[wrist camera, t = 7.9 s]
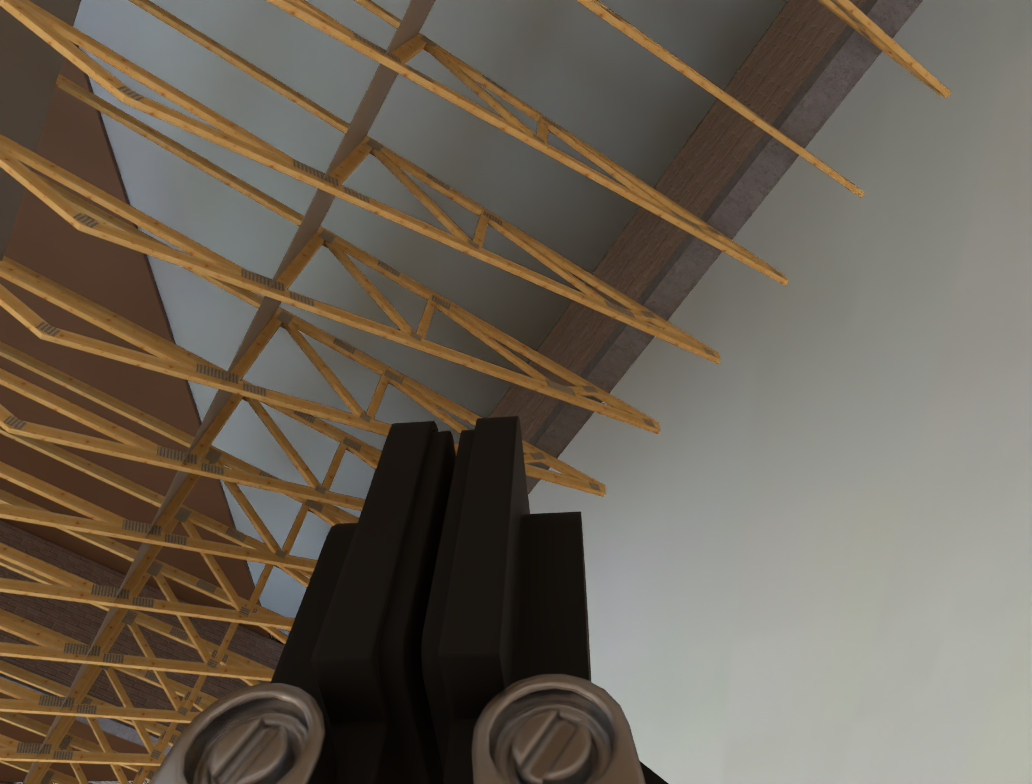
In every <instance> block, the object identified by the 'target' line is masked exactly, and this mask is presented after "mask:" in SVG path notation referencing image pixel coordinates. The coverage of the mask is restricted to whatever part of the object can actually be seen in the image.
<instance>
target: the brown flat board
mask: <svg viewBox="0 0 1032 784" xmlns="http://www.w3.org/2000/svg"><path fill="white" fill-rule="evenodd" d="M69 41H70V40H69ZM70 42H71V41H70ZM71 43H73V42H71ZM73 44H74V45H75V46H76V47H78V45H76V44H75V43H73ZM78 48H79V47H78ZM59 74H60V75H61V76H63V77H65V78H67V79H68V80H70V81H72V82H73V83H75V84H77V85H79V86H80V87H82V88H84V89H86V90H87V91H89V92H91V93H92V94H94V93H93V90H92V87H91V84H90V81H89V77H88V75H87V74H86V73H85V72H83V71H82V70H81V69H80V68H78V67H77V66H76V65H75V64H73V63H72V62H71V61H70V60H68V59H67V58H66V57H64V58H63V61H62V65H61V68H60V71H59ZM35 153H36V154H38V155H39V156H41V157H43V158H45V159H47V160H48V161H50V162H52V163H54V164H56V165H57V166H59V167H61V168H63V169H65V170H67V171H68V172H70V173H72V174H74V175H76V176H77V177H79V178H81V179H83V180H85V181H86V182H88V183H90V184H92V185H94V186H95V187H97V188H99V189H101V190H103V191H104V192H106V193H108V194H110V195H112V196H113V197H115V198H117V199H119V200H121V201H123V202H124V203H126V204H128V205H130V203H129V200H128V197H127V194H126V191H125V188H124V185H123V182H122V179H121V175H120V172H119V169H118V166H117V163H116V160H115V157H114V154H113V151H112V148H111V145H110V142H109V139H108V136H107V133H106V130H105V126H104V123H103V120H102V117H101V114H100V111H99V110H97V109H95V108H94V107H92V106H90V105H88V104H87V103H85V102H83V101H81V100H80V99H78V98H76V97H74V96H73V95H71V94H69V93H68V92H66V91H64V90H62V89H61V88H59V87H57V86H55V88H54V91H53V95H52V98H51V101H50V105H49V108H48V111H47V115H46V118H45V121H44V125H43V128H42V131H41V134H40V138H39V141H38V144H37V148H36V151H35ZM30 170H31V171H32V172H34V173H36V174H38V175H40V176H41V177H43V178H45V179H47V180H49V181H51V182H52V183H54V184H56V185H58V186H60V187H61V188H63V189H65V190H67V191H69V192H71V193H72V194H74V195H76V196H78V197H80V198H82V199H83V200H85V201H87V202H89V203H91V204H93V205H94V206H96V207H98V208H100V209H102V210H103V211H105V212H107V213H109V214H111V215H113V216H114V217H116V218H118V219H120V220H122V221H124V222H125V223H127V224H129V225H131V226H133V227H135V228H136V229H138V228H137V225H136V224H134V223H133V222H131V221H129V220H127V219H125V218H123V217H122V216H120V215H118V214H116V213H114V212H113V211H111V210H109V209H107V208H105V207H103V206H102V205H100V204H98V203H96V202H94V201H92V200H91V199H89V198H87V197H85V196H83V195H82V194H80V193H78V192H76V191H74V190H72V189H71V188H69V187H67V186H65V185H63V184H62V183H60V182H58V181H56V180H54V179H52V178H51V177H49V176H47V175H45V174H43V173H41V172H40V171H38V170H36V169H34V168H32V167H31V168H30ZM83 214H84V213H83ZM85 215H86V214H85ZM86 216H87V217H89V218H91V217H90V216H88V215H86ZM91 219H92V220H95V219H93V218H91ZM95 221H97V220H95ZM98 222H99V221H98ZM100 223H101V222H100ZM4 256H6V257H8V258H10V259H12V260H14V261H16V262H17V263H19V264H21V265H23V266H25V267H27V268H29V269H31V270H33V271H35V272H37V273H39V274H41V275H43V276H44V277H46V278H48V279H50V280H52V281H54V282H56V283H58V284H60V285H62V286H64V287H66V288H68V289H70V290H71V291H73V292H75V293H77V294H79V295H81V296H83V297H85V298H87V299H89V300H91V301H93V302H95V303H97V304H98V305H100V306H102V307H104V308H106V309H108V310H110V311H112V312H114V313H116V314H118V315H120V316H122V317H124V318H125V319H127V320H129V321H131V322H133V323H135V324H137V325H139V326H141V327H143V328H145V329H147V330H149V331H151V332H152V333H154V334H156V335H158V336H160V337H162V338H164V339H166V340H168V341H170V342H172V343H174V344H175V341H174V338H173V335H172V332H171V329H170V325H169V322H168V319H167V316H166V313H165V310H164V307H163V304H162V301H161V298H160V295H159V292H158V289H157V286H156V283H155V280H154V277H153V273H152V270H151V267H150V264H149V261H148V258H147V255H146V254H145V253H142V252H139V251H136V250H133V249H130V248H128V247H125V246H122V245H119V244H116V243H113V242H111V241H108V240H105V239H102V238H99V237H96V236H93V235H91V234H88V233H85V232H82V231H79V230H77V229H76V228H75V227H74V226H73V225H71V224H70V223H69V222H68V221H66V220H65V219H64V218H63V217H62V216H60V215H59V214H58V213H57V212H55V211H54V210H53V209H52V208H50V207H49V206H48V205H47V204H46V203H44V202H43V201H42V200H41V199H39V198H38V197H37V196H36V195H35V194H33V193H32V192H31V191H30V190H28V189H27V188H26V187H25V188H24V191H23V194H22V198H21V201H20V204H19V208H18V211H17V214H16V217H15V221H14V224H13V227H12V231H11V234H10V237H9V241H8V244H7V247H6V251H5V254H4ZM0 284H1V285H2V286H4V287H5V288H6V289H7V290H8V291H10V292H11V293H12V294H13V295H14V296H16V297H17V298H18V299H19V300H20V301H22V302H23V303H24V304H25V305H26V306H28V307H29V308H30V309H31V310H32V311H34V312H35V313H36V314H37V315H38V316H40V317H41V318H42V319H43V320H45V321H46V322H47V323H48V324H49V325H51V326H53V327H55V328H58V329H62V330H65V331H69V332H72V333H76V334H79V335H83V336H86V337H89V338H93V339H96V340H100V341H103V342H107V343H110V344H114V345H117V346H120V347H124V348H127V349H131V350H134V351H138V352H141V353H145V354H148V355H152V356H155V355H153V354H151V353H149V352H147V351H145V350H143V349H141V348H139V347H137V346H135V345H133V344H131V343H130V342H128V341H126V340H124V339H122V338H120V337H118V336H116V335H114V334H112V333H110V332H108V331H106V330H104V329H102V328H100V327H98V326H96V325H94V324H92V323H90V322H88V321H87V320H85V319H83V318H81V317H79V316H77V315H75V314H73V313H71V312H69V311H67V310H65V309H63V308H61V307H59V306H57V305H55V304H53V303H51V302H49V301H47V300H46V299H44V298H42V297H40V296H38V295H36V294H34V293H32V292H30V291H28V290H26V289H24V288H22V287H20V286H18V285H16V284H14V283H12V282H10V281H8V280H6V279H4V278H3V277H1V276H0ZM0 341H1V342H3V343H5V344H7V345H9V346H11V347H13V348H15V349H17V350H19V351H21V352H23V353H25V354H27V355H29V356H31V357H33V358H35V359H37V360H39V361H41V362H43V363H45V364H47V365H49V366H51V367H53V368H55V369H57V370H59V371H61V372H63V373H65V374H67V375H69V376H72V377H74V378H76V379H78V380H80V381H82V382H84V383H86V384H88V385H90V386H92V387H94V388H96V389H98V390H100V391H102V392H104V393H106V394H108V395H110V396H112V397H114V398H116V399H118V400H120V401H122V402H124V403H126V404H128V405H130V406H132V407H134V408H136V409H138V410H141V411H143V412H145V413H147V414H149V415H151V416H153V417H155V418H157V419H159V420H161V421H163V422H165V423H167V424H169V425H171V426H173V427H175V428H177V429H179V430H181V431H183V432H185V433H187V434H189V435H191V436H193V437H195V436H196V434H197V432H198V430H199V428H200V426H201V424H202V423H201V420H200V417H199V414H198V411H197V408H196V405H195V402H194V399H193V396H192V393H191V390H190V387H189V384H188V381H187V380H185V379H182V378H178V377H175V376H171V375H168V374H164V373H160V372H157V371H153V370H150V369H146V368H143V367H139V366H135V365H132V364H128V363H125V362H121V361H118V360H114V359H111V358H107V357H103V356H100V355H96V354H93V353H89V352H86V351H82V350H78V349H75V348H71V347H68V346H64V345H61V344H57V343H53V342H50V341H46V340H43V339H40V338H39V337H38V336H37V335H35V334H34V333H33V332H32V331H31V330H29V329H28V328H27V327H26V326H25V325H23V324H22V323H21V322H20V321H19V320H17V319H16V318H15V317H14V316H13V315H11V314H10V313H9V312H8V311H7V310H5V309H4V308H3V307H2V306H1V305H0ZM155 357H157V356H155ZM158 358H159V357H158ZM0 368H1V369H3V370H5V371H7V372H9V373H11V374H13V375H15V376H17V377H19V378H22V379H24V380H26V381H28V382H30V383H32V384H34V385H36V386H38V387H40V388H42V389H44V390H46V391H48V392H50V393H52V394H55V395H57V396H59V397H61V398H63V399H65V400H67V401H69V402H71V403H73V404H75V405H77V406H79V407H81V408H83V409H85V410H88V411H90V412H92V413H94V414H96V415H98V416H100V417H102V418H104V419H106V420H108V421H110V422H112V423H114V424H116V425H118V426H120V427H123V428H125V429H127V430H129V431H131V432H133V433H135V434H137V435H139V436H141V437H143V438H145V439H147V440H149V441H151V442H153V443H156V444H158V445H160V446H162V447H164V448H168V449H173V450H177V451H181V452H186V453H187V452H188V450H189V447H187V446H184V445H182V444H180V443H178V442H176V441H174V440H172V439H170V438H168V437H166V436H164V435H162V434H160V433H158V432H156V431H154V430H152V429H150V428H148V427H146V426H144V425H142V424H139V423H137V422H135V421H133V420H131V419H129V418H127V417H125V416H123V415H121V414H119V413H117V412H115V411H113V410H111V409H109V408H107V407H105V406H103V405H101V404H99V403H96V402H94V401H92V400H90V399H88V398H86V397H84V396H82V395H80V394H78V393H76V392H74V391H72V390H70V389H68V388H66V387H64V386H62V385H60V384H58V383H56V382H54V381H51V380H49V379H47V378H45V377H43V376H41V375H39V374H37V373H35V372H33V371H31V370H29V369H27V368H25V367H23V366H21V365H19V364H17V363H15V362H13V361H11V360H9V359H6V358H4V357H2V356H0ZM0 404H1V405H2V406H3V407H4V408H6V409H7V410H8V411H9V412H10V413H12V414H13V415H14V416H15V417H16V418H17V419H19V420H22V421H26V422H30V423H35V424H39V425H44V426H48V427H52V428H57V429H61V430H65V431H70V432H74V433H78V434H83V435H87V436H91V437H96V438H100V439H104V440H109V441H113V442H117V443H122V442H120V441H118V440H116V439H114V438H111V437H109V436H107V435H105V434H103V433H101V432H99V431H97V430H95V429H93V428H91V427H89V426H86V425H84V424H82V423H80V422H78V421H76V420H74V419H72V418H70V417H68V416H66V415H64V414H62V413H59V412H57V411H55V410H53V409H51V408H49V407H47V406H45V405H43V404H41V403H39V402H37V401H34V400H32V399H30V398H28V397H26V396H24V395H22V394H20V393H18V392H16V391H14V390H12V389H9V388H7V387H5V386H3V385H1V384H0ZM47 442H48V441H47ZM50 443H52V444H54V445H56V446H58V447H60V448H62V449H64V450H67V451H69V452H71V453H73V454H75V455H77V456H79V457H81V458H84V459H86V460H88V461H90V462H92V463H94V464H96V465H98V466H101V467H103V468H105V469H107V470H109V471H111V472H113V473H115V474H118V475H120V476H122V477H124V478H126V479H128V480H130V481H133V482H135V483H137V484H139V485H141V486H143V487H145V488H147V489H150V490H152V491H154V492H156V493H158V494H160V495H162V496H164V497H165V496H166V494H167V492H168V490H169V488H170V486H171V484H172V482H173V480H174V478H175V476H176V474H177V472H178V470H174V469H170V468H165V467H161V466H156V465H152V464H147V463H143V462H138V461H134V460H129V459H125V458H120V457H116V456H111V455H107V454H102V453H98V452H93V451H89V450H84V449H80V448H75V447H71V446H66V445H62V444H57V443H53V442H50ZM122 444H124V443H122ZM0 461H1V462H3V463H5V464H7V465H9V466H12V467H14V468H16V469H18V470H20V471H22V472H25V473H27V474H29V475H31V476H33V477H36V478H38V479H40V480H42V481H44V482H46V483H49V484H51V485H53V486H55V487H57V488H60V489H62V490H64V491H66V492H68V493H70V494H73V495H75V496H77V497H79V498H81V499H84V500H86V501H88V502H90V503H92V504H95V505H97V506H99V507H101V508H103V509H105V510H108V511H110V512H112V513H114V514H116V515H119V516H121V517H123V518H125V519H127V520H130V521H136V522H141V523H147V524H152V522H153V520H154V518H155V516H156V514H157V512H158V510H159V507H157V506H155V505H153V504H151V503H149V502H147V501H144V500H142V499H140V498H138V497H136V496H134V495H132V494H129V493H127V492H125V491H123V490H121V489H119V488H117V487H114V486H112V485H110V484H108V483H106V482H104V481H102V480H99V479H97V478H95V477H93V476H91V475H89V474H87V473H84V472H82V471H80V470H78V469H76V468H74V467H71V466H69V465H67V464H65V463H63V462H61V461H59V460H56V459H54V458H52V457H50V456H48V455H46V454H44V453H41V452H39V451H37V450H35V449H33V448H31V447H29V446H26V445H24V444H22V443H20V442H18V441H16V440H14V439H11V438H9V437H7V436H5V435H3V434H1V433H0ZM0 489H1V490H4V491H6V492H8V493H10V494H12V495H15V496H17V497H19V498H21V499H24V500H26V501H28V502H30V503H32V504H35V505H37V506H39V507H41V508H44V509H46V510H48V511H50V512H53V513H58V514H64V515H69V516H75V517H81V518H86V519H92V518H90V517H87V516H85V515H83V514H81V513H79V512H76V511H74V510H72V509H70V508H68V507H65V506H63V505H61V504H59V503H57V502H54V501H52V500H50V499H48V498H46V497H43V496H41V495H39V494H37V493H35V492H32V491H30V490H28V489H26V488H23V487H21V486H19V485H17V484H15V483H12V482H10V481H8V480H6V479H4V478H1V477H0ZM181 505H184V506H186V507H188V508H190V509H192V510H194V511H196V512H198V513H201V514H203V515H205V516H207V517H209V518H211V519H213V520H215V521H218V522H220V523H222V524H224V525H226V526H228V527H230V528H232V529H235V530H236V528H235V525H234V521H233V518H232V515H231V512H230V509H229V506H228V503H227V500H226V497H225V494H224V491H223V488H222V485H221V482H220V479H215V478H211V477H206V476H202V475H201V476H200V477H199V479H198V480H197V482H196V483H195V485H194V486H193V488H192V489H191V491H190V492H189V494H188V495H187V497H186V498H185V500H184V501H183V503H182V504H181ZM0 520H1V521H4V522H6V523H8V524H11V525H13V526H15V527H17V528H20V529H22V530H24V531H26V532H29V533H31V534H33V535H36V536H38V537H40V538H42V539H45V540H47V541H49V542H51V543H54V544H56V545H58V546H60V547H63V548H65V549H67V550H70V551H72V552H74V553H76V554H79V555H81V556H83V557H85V558H88V559H90V560H92V561H95V562H97V563H99V564H101V565H104V566H106V567H108V568H110V569H113V570H115V571H117V572H119V573H122V574H124V575H127V573H128V571H129V569H130V567H131V565H132V563H133V562H132V561H130V560H127V559H125V558H123V557H121V556H118V555H116V554H114V553H112V552H109V551H107V550H105V549H103V548H100V547H98V546H96V545H94V544H92V543H89V542H87V541H85V540H83V539H80V538H78V537H76V536H74V535H71V534H69V533H67V532H65V531H62V530H60V529H58V528H56V527H51V526H45V525H40V524H34V523H28V522H22V521H16V520H11V519H5V518H0ZM92 520H94V519H92ZM191 523H192V522H191ZM192 524H193V526H194V528H195V529H196V531H197V532H198V534H199V535H200V537H201V538H202V540H208V541H213V542H219V543H224V544H230V545H235V546H241V545H239V544H237V543H235V542H232V541H230V540H228V539H226V538H224V537H222V536H220V535H217V534H215V533H213V532H211V531H209V530H207V529H205V528H202V527H200V526H198V525H196V524H194V523H192ZM171 534H174V535H180V536H186V537H190V536H189V535H188V533H187V532H186V530H185V528H184V527H183V526H182V525H180V524H178V523H177V525H176V527H175V528H174V530H173V531H172V533H171ZM106 537H108V538H110V539H113V540H115V541H117V542H119V543H121V544H124V545H126V546H128V547H130V548H133V549H135V550H137V551H139V549H140V547H141V545H142V543H143V542H138V541H132V540H127V539H121V538H115V537H109V536H106ZM241 547H242V546H241ZM212 556H213V557H214V559H215V560H216V562H217V563H218V565H219V566H220V568H221V570H222V571H223V573H224V574H225V576H226V577H227V579H228V580H229V582H230V584H231V585H232V587H233V588H234V590H235V591H236V593H237V594H238V596H239V597H241V598H244V599H246V600H248V601H249V600H250V598H251V596H252V594H253V592H254V589H255V586H254V583H253V580H252V577H251V573H250V570H249V567H248V564H247V561H246V560H242V559H237V558H231V557H225V556H219V555H214V554H212ZM155 559H157V560H159V561H161V562H164V563H166V564H168V565H170V566H173V567H175V568H177V569H179V570H181V571H184V572H186V573H188V574H190V575H193V576H195V577H197V578H199V579H201V580H204V581H206V582H208V583H210V584H213V585H215V586H217V587H219V588H221V589H223V588H222V587H221V585H220V583H219V582H218V580H217V579H216V577H215V576H214V574H213V572H212V571H211V569H210V568H209V566H208V565H207V563H206V561H205V560H204V558H203V557H202V555H201V554H200V552H196V551H190V550H185V549H179V548H173V547H167V546H162V548H161V549H160V551H159V553H158V554H157V556H156V557H155ZM163 577H164V579H165V580H166V582H167V584H168V585H169V587H170V588H171V590H172V592H173V593H174V595H175V597H176V598H178V599H181V600H183V601H185V602H188V603H190V604H194V605H201V606H209V607H216V608H223V609H230V610H236V609H235V607H233V606H231V605H228V604H226V603H224V602H222V601H219V600H217V599H215V598H213V597H210V596H208V595H206V594H204V593H201V592H199V591H197V590H195V589H192V588H190V587H188V586H186V585H184V584H181V583H179V582H177V581H175V580H172V579H170V578H168V577H166V576H163ZM146 584H147V585H149V586H151V587H153V588H156V589H158V590H160V591H161V589H160V587H159V586H158V584H157V582H156V580H155V579H153V578H151V577H149V579H148V581H147V582H146ZM256 604H257V605H259V606H261V604H260V601H259V599H258V601H257V603H256ZM238 625H240V626H242V627H244V628H247V629H249V630H251V631H253V632H256V633H258V634H260V635H262V636H265V637H267V638H269V639H271V640H272V638H271V635H270V633H268V632H267V631H266V630H264V629H263V628H262V627H260V626H259V625H251V624H243V623H239V624H238ZM0 698H2V699H16V700H19V699H17V698H14V697H12V696H9V695H7V694H4V693H2V692H0ZM15 713H18V712H15ZM18 714H20V715H23V716H26V717H28V718H31V719H33V720H36V721H39V722H41V723H44V724H46V725H49V726H52V724H53V722H54V720H55V718H56V716H57V715H50V714H34V713H18ZM102 732H103V734H104V735H105V737H106V739H107V741H108V743H109V745H110V747H111V749H112V750H114V751H116V752H119V753H135V754H149V752H148V751H147V749H146V747H144V746H141V745H139V744H136V743H134V742H131V741H128V740H126V739H123V738H121V737H118V736H116V735H113V734H111V733H108V732H105V731H103V730H102ZM67 733H70V734H72V735H75V736H77V737H80V738H83V739H85V740H88V741H90V742H93V743H96V744H98V745H100V744H99V742H98V740H97V738H96V736H95V734H94V732H93V730H92V728H91V726H90V725H87V724H85V723H82V722H80V721H77V720H75V721H74V722H73V724H72V725H71V727H70V729H69V730H68V732H67ZM0 734H1V735H4V736H7V737H9V738H12V739H15V740H17V741H20V742H23V743H39V744H43V742H44V740H45V738H46V737H44V736H42V735H39V734H37V733H34V732H31V731H29V730H26V729H24V728H21V727H18V726H16V725H13V724H10V723H8V722H5V721H3V720H0ZM70 747H71V746H70ZM71 749H72V751H81V750H78V749H76V748H73V747H71ZM163 755H164V754H163ZM79 765H80V767H81V769H82V771H83V773H84V775H85V777H86V779H87V781H118V779H117V777H116V775H115V773H114V771H113V769H112V767H111V765H110V764H90V763H79ZM155 767H158V768H159V766H155ZM49 768H50V769H53V770H56V771H59V772H61V773H64V774H67V775H69V776H72V777H75V778H77V777H76V775H75V773H74V771H73V769H72V767H71V765H70V763H61V762H52V764H51V766H50V767H49ZM121 768H122V770H123V772H124V774H125V776H126V778H127V780H128V781H133V780H134V778H135V776H136V774H137V772H136V771H133V770H131V769H128V768H125V767H123V766H121ZM27 774H28V772H25V771H22V770H20V769H17V768H14V767H11V766H9V765H6V764H3V763H1V762H0V782H24V780H25V778H26V776H27Z"/></svg>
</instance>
